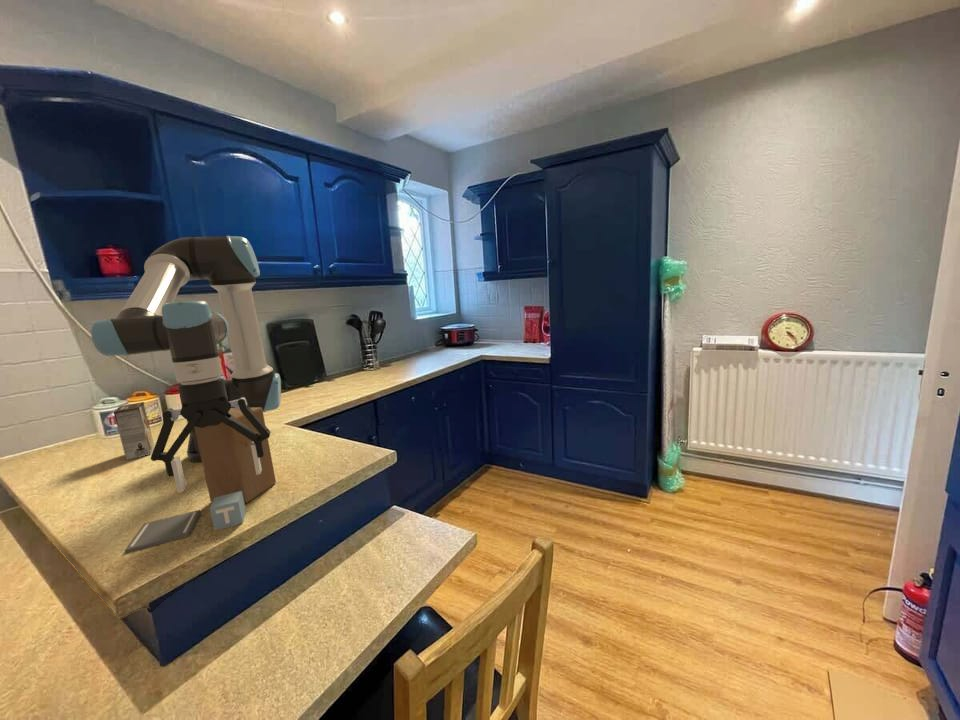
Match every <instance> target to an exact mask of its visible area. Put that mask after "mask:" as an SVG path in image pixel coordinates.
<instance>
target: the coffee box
mask: <svg viewBox="0 0 960 720" xmlns="http://www.w3.org/2000/svg"><path fill="white" fill-rule="evenodd" d="M113 414H114V419H115V422H116V426H117V427H116V428H117V430H118V434H119V437H120V441H121V445H122V449H123V453H124V457H125V461H129V460H128V459H131V460H133V459H132V458H135V459H138V458H137V457H139V458H142V457H141V456H144V457H146V456H145V455H148V456H150V455H149V454H151V455H152V453H153V450H154V446H155V443H154V439H153V435H152V430H151V427H150V422H149V419H148V414H147V410H146V406H145V403H144V401H141V402H136V403H130V404H125V405H121V406H120V405H119V406H118V407H117V408H116V409H115V410H114V411H113Z"/></svg>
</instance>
